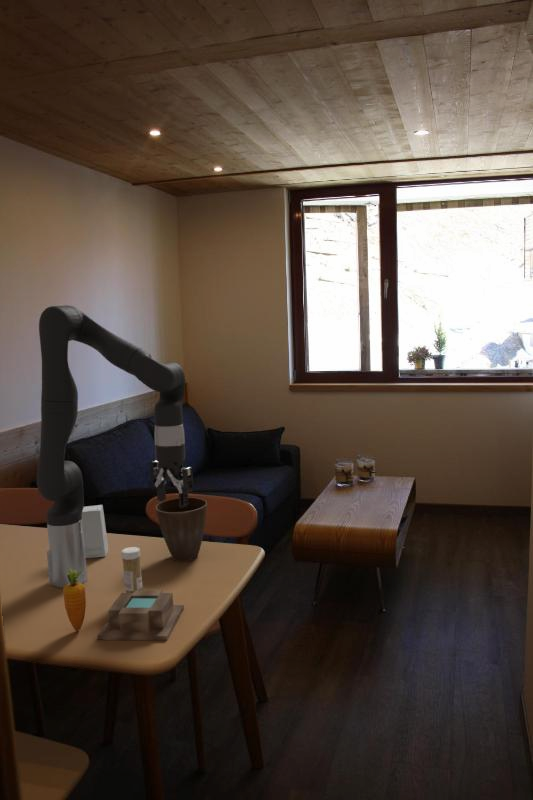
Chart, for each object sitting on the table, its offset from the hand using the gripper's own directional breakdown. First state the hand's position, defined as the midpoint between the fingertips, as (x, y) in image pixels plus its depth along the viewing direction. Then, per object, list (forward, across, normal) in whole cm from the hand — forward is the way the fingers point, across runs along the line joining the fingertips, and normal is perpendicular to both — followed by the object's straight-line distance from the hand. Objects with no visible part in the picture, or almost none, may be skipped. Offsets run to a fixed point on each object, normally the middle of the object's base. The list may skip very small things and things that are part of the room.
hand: (172, 503), depth 179 cm
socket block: (+23, +8, -18) cm, 30 cm away
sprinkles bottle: (+24, -4, -11) cm, 26 cm away
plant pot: (+24, -16, +17) cm, 34 cm away
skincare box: (+24, -41, +2) cm, 48 cm away
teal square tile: (+19, +8, -18) cm, 28 cm away
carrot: (+24, -1, -29) cm, 38 cm away
